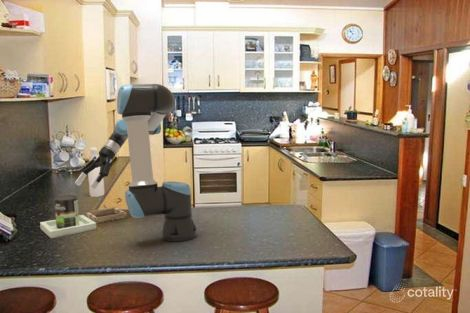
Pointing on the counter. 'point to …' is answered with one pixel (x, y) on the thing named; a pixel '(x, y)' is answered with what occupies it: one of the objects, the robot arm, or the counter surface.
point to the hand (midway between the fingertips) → (84, 186)
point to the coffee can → (66, 211)
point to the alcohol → (93, 174)
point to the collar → (93, 214)
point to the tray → (53, 232)
